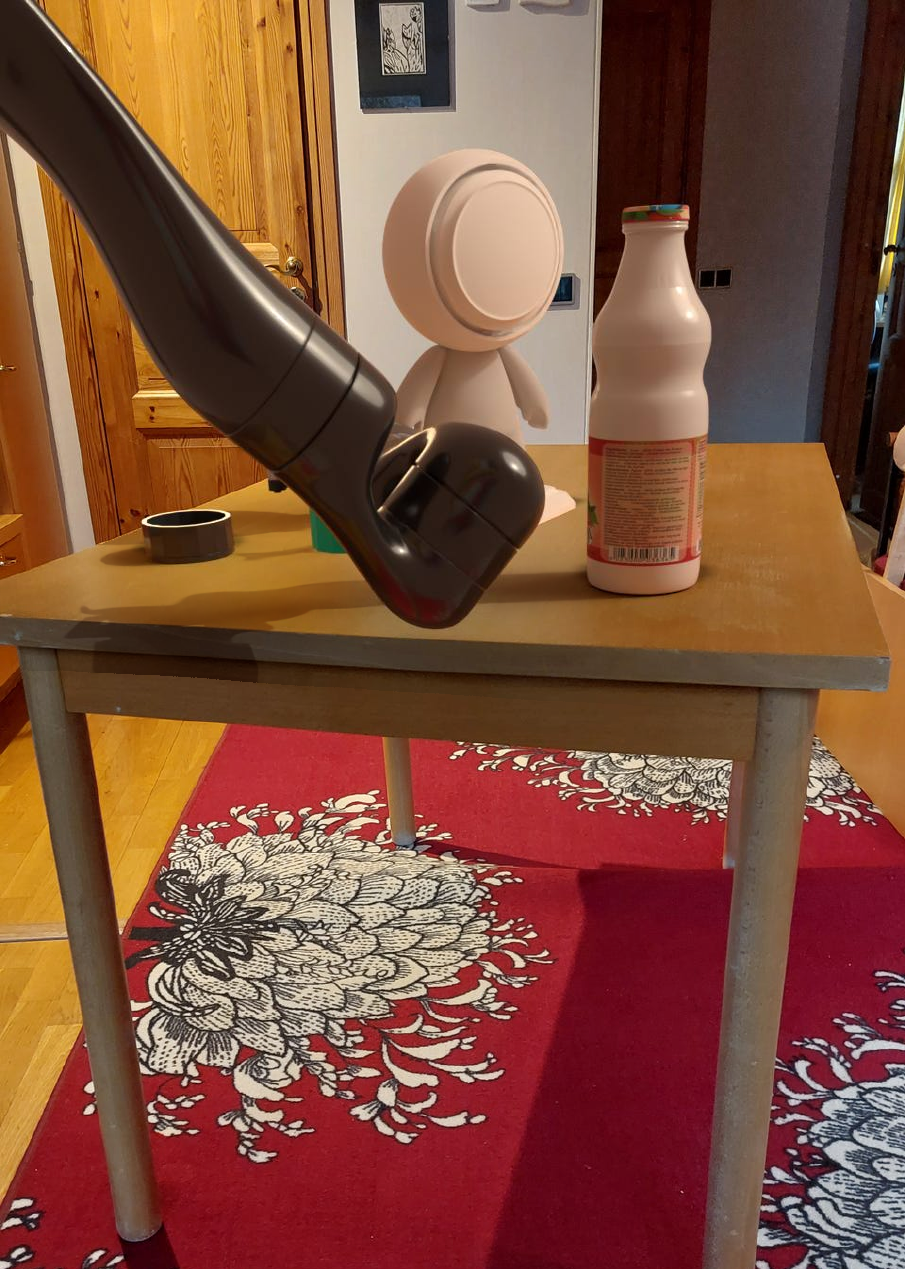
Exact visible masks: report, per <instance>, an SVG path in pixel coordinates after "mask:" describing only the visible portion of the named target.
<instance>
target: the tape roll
mask: <svg viewBox="0 0 905 1269" xmlns="http://www.w3.org/2000/svg"><path fill="white" fill-rule="evenodd" d="M140 525H141V531H142V536H143V543H144V549H145V553H146V558H147V560H148V561H151V562H154V563H159V564H169V565H170V564H171V565H173V564H176V565H177V564H178V565H179V564H195V563H202V562H203V563H204V562H209V561H214V560H217V559H218V560H219V559H222V558H225V557H228V556H230V555H232V554H234V552H235V551H236V546H235V539H234V532H233V531H234V530H233V523H232V516H231V513H230V512H227V511H224V510H219V509H187V510H185V509H184V510H176V511H169V512H162V513H158V514H153V515H150V516H147V517H146V518H143V519H142V520H141V524H140Z"/></svg>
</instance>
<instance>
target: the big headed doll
mask: <svg viewBox="0 0 905 1269" xmlns="http://www.w3.org/2000/svg"><path fill="white" fill-rule="evenodd" d="M560 218H561V217H560V214H559V212H558V210H557V206H556V204H555V202H554V199H553V198H552V196H551V193H550V192H549V190H548V189H547V187H546V186H545V185H544V183H543V181H541V179H540V178H539V177H538V176H537V175H536V174H535V173H534V172H533V171H532V170H531V169H530V168H529V167H527V166H526V165H525V164H524V163H522V162H520V161H519V160H518V159H515V158H514V157H511V156H509V155H508V154H505V153H502V152H499V151H495V150H490V149H485V148H465V149H458V150H453V151H450V152H447V153H444V154H443V155H442V154H441V155H440V156H437V157H436V158H434V159H431V160H430V161H428V162H427V163H426V164H424V165H423V166H421V167H420V168H419V169H418V170H416V171H415V172H414V173H413V174H412V175H411V176H410V177H409V178H408V179H407V181H406V182H405V183H404V185H403V186H402V187H401V188H400V190H399V192H398V193H397V194H396V197H395V198H394V200H393V202H392V204H391V206H390V208H389V212H388V214H387V218H386V220H385V224H384V229H383V233H382V234H383V235H382V244H381V257H382V258H381V259H382V260H381V261H382V268H383V274H384V278H385V282H386V286H387V289H388V292H389V293H390V296H391V298H392V300H393V302H394V305H395V306H396V308H397V309H398V311H399V313H400V314H401V315H402V317H403V318H404V319H405V321H406V322H407V323H408V324H409V325H410V326H411V328H413V329H414V330H415V331H416V332H417V333H419V334H420V335H421V336H423V337H424V338H426V339H427V340H429V341H431V342H433V343H434V344H435V345H432V346H430V347H429V348H428V349H427V350H425V351H424V352H423V353H422V354H421V355H420V356H419V357H418V358H417V360H415V362H414V363H413V365H412V366H411V368H409V370H408V372H407V373H406V375H405V376H404V378H403V379H402V381H401V383H400V385H399V386H398V388H397V390H396V391H395V392H396V396H397V400H398V408H397V414H396V418H395V421H397V422H399V423H402V424H404V425H406V426H408V427H411V428H413V429H415V430H417V431H419V432H420V431H422V430H425V429H427V428H429V427H431V426H433V425H436V424H440V423H444V422H450V421H462V422H471V423H476V424H480V425H483V426H486V427H489V428H491V429H494V430H496V431H498V432H500V433H502V434H504V435H506V436H507V437H509V438H510V439H512V440H513V441H514V442H516V443H517V444H518V445H519V446H520V447H521V448H523V449H524V450H525V451H526V452H527V449H526V442H525V437H524V433H523V429H522V424H521V421H520V420H521V419H520V417H519V413H518V409H519V410H520V413H521V417H522V419H523V420H524V421H526V422H527V425H528V426H529V427H531V428H533V429H539V430H546V429H548V427H549V425H550V420H551V411H550V405H549V404H550V403H549V401H548V397H547V395H546V392H545V389H544V388H543V385H542V384H541V382H540V381H539V380H540V379H538V377H537V376H536V374H535V372H534V371H533V369H532V368H531V367H530V366H529V364H528V363H527V362H526V360H525V359H524V357H522V355H521V354H520V353H519V352H518V351H517V350H515V348H514V347H512V346H511V345H510V344H512V343H514V342H515V341H517V340H519V339H520V338H522V337H523V336H525V335H526V334H527V333H529V332H530V331H531V330H532V329H533V327H535V326H536V325H537V324H538V323H539V322H540V320H541V319H542V318H543V317H544V315H545V314H546V313H547V311H548V309H549V308H550V305H551V304H552V302H553V301H554V298H555V295H556V294H557V290H558V288H559V284H560V280H561V277H562V273H563V267H564V257H565V256H564V253H565V244H564V243H565V242H564V233H563V227H562V221H561V219H560ZM517 408H518V409H517ZM544 488H545V506H544V511H543V515H542V517H541V520H540V522H539V524H538V526H539V525H542V524H545V523H546V522H549V521H551V520H553V519H556V518H557V517H560V516H562V515H564V514H566V513H569V512H570V511H572V510H575V509H576V508H577V507H576V506H577V505H576V501H575V500H574V499H573V497H572V496H571V495H569V493H568V492H567V491H565V490H561V489H557V488H556V487H555V486H552V485H548V484H544Z"/></svg>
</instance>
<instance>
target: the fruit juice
mask: <svg viewBox="0 0 905 1269" xmlns="http://www.w3.org/2000/svg"><path fill="white" fill-rule="evenodd" d="M621 214H622V215H621V227H622V229H621V232H622V234H624V235H625V242H624V249H623V253H622V257H621V260H620V263H619V267H618V270H617V274H616V277H615V280H614V283H613V285H612V288H611V291H610V293H609V296H608V298H607V299H606V301H605V302H604V304H603V307H602V308H601V310H600V311H599V313H598V314H597V316H596V318H595V321H594V323H593V326H592V333H591V352H592V356H593V357H592V358H593V361H594V366H595V370H596V384H595V386H594V390H593V391H592V394H591V398H590V402H589V409H588V410H589V414H588V427H587V439H588V445H587V446H588V447H587V501H586V502H587V504H586V505H587V506H586V507H587V509H586V512H587V514H586V576H587V580H588V582H589V584H590V585H591V586H593V587H594V588H597V589H599V590H602V591H605V592H610V593H616V594H624V595H625V594H626V595H659V594H660V595H661V594H667V593H674V592H680V591H684V590H686V589H688V588H691V587H692V586H694V585H695V584H696V582H697V581H698V578H699V574H700V567H701V566H700V565H701V553H702V538H703V537H702V536H703V535H702V534H703V518H704V503H705V501H704V500H705V485H706V484H705V483H706V467H707V466H706V465H707V450H708V435H709V417H710V416H709V413H710V412H709V397H708V392H707V388H706V386H705V382H704V369H705V366H706V364H707V363H706V362H707V360H708V356H709V353H710V349H711V344H712V323H711V319H710V316H709V313H708V310H706V308H705V306H704V304H703V302H702V300H701V298H700V296H699V295H698V293H697V290H696V289H695V284H694V283H693V282H694V281H693V279H692V275H691V270H690V267H689V262H688V257H687V252H686V246H685V234H686V231H688V230H689V221H690V207H689V205H687V204H655V205H641V206H640V205H639V206H631V207H630V206H629V207H624V208H623V210H622V213H621Z"/></svg>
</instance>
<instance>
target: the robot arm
mask: <svg viewBox="0 0 905 1269" xmlns="http://www.w3.org/2000/svg"><path fill="white" fill-rule="evenodd" d="M0 130H1V131H2V132H4V134H6V135H7V136H8V137H9V138H10V139H11V140H13V141H14V142H15V143H16V144H17V145H18V146H19V147H20V148H21V149H22V150H24V151H25V153H26V154H27V155H28V156H29V157H30V158H31V159H32V160H33V161H34V162H35V163H36V164H37V165H38V166H39V168H41V170H42V171H43V172H44V173H45V174H46V176H47V177H48V178H49V180H51V181H52V183H53V184H54V185H55V187H56V188H57V189H58V191H59V193H60V194H61V195H62V196H63V198H64V199H65V200H66V202H67V203H68V205H69V206H70V208H71V210H72V212H73V214H75V216H76V218H77V220H78V221H79V223H80V224H81V227H82V228H83V230H84V231H85V233H86V234H87V236H88V238H89V240H90V242H91V243H92V245H93V247H94V248H95V250H96V252H97V255H98V256H99V258H100V260H101V262H102V264H103V267H104V269H105V270H106V271H107V274H108V276H109V278H110V280H111V282H112V284H113V286H114V288H115V291H116V293H117V295H118V297H119V299H120V301H121V304H122V305H123V307H124V310H125V312H126V314H127V316H128V318H129V319H130V321H131V323H132V325H133V327H134V330H135V331H136V334H137V335H138V337H139V339H140V341H141V343H142V345H143V347H144V348H145V351H146V352H147V353H148V355H149V357H150V358H151V361H153V363H154V365H155V366H156V368H157V369H158V371H159V372H160V373H161V375H162V376H163V378H164V379H165V381H166V382H167V383H168V384H169V385H170V387H171V388H172V389H173V391H174V392H175V393H176V394H177V395H178V396H179V397H180V398H181V399H182V400H183V401H184V402H185V404H186V405H187V406H188V407H189V408H190V409H191V410H193V412H194V413H196V414H197V415H198V416H199V417H201V418H202V419H203V420H204V422H206V423H207V424H209V425H210V426H211V427H212V428H213V429H215V430H216V431H217V432H218V433H220V434H221V435H223V437H225V438H226V439H227V440H229V441H230V442H231V443H233V444H234V445H235V446H237V448H239V449H240V450H241V451H243V452H244V453H245V454H246V455H247V456H249V457H250V458H252V460H254V461H255V462H257V463H258V465H261V467H263V468H265V470H266V475H267V486H268V491H269V492H272V493H274V494H279V493H282V492H285V491H286V490H288V489H289V490H290V491H291V492H293V494H295V495H296V496H297V497H298V498H299V499H300V500H301V501H302V502H303V503H304V504H305V505H306V506H307V507H308V509H309V508H310V509H311V510H312V511H313V512H314V513H315V514H316V515H317V516H318V517H319V519H320V520H321V521H322V522H323V523H324V524H325V525H326V527H327V528H328V529H329V530H330V532H331V533H332V534H333V535H334V537H335V538H336V539H337V541H338V542H339V543H340V544H341V546H342V547H343V548H344V550H345V551H346V553H347V554H346V555H347V556H348V558H349V559H350V560H351V562H352V563H353V565H354V566H355V568H356V569H357V570H358V572H359V574H360V575H361V576H362V578H363V579H364V580H365V582H366V583H367V585H368V586H369V588H370V589H371V590H372V592H373V593H374V594H375V595H376V597H377V598H378V599H379V600H380V602H381V603H382V604H383V605H384V606H385V607H386V608H387V609H388V610H389V611H390V612H391V613H392V614H394V616H396V617H397V618H399V619H400V620H401V621H404V622H405V623H407V624H409V625H412V626H414V627H417V628H420V629H425V630H444V629H449V628H452V627H455V626H457V625H458V624H459V623H461V622H462V621H463V620H464V619H465V618H466V617H467V616H469V614H470V613H471V612H472V610H474V608H475V607H476V606H477V604H478V603H479V602H480V601H481V599H482V598H483V597H484V596H485V594H486V592H487V591H489V589H490V588H491V587H492V585H493V584H494V583H495V582H496V580H497V579H498V578H499V576H500V575H501V574H502V573H503V571H504V570H505V569H506V567H507V566H508V565H509V563H510V562H511V561H512V560H513V558H515V556H516V554H517V553H518V550H521V549H522V548H523V547H524V545H525V544H526V542H527V541H528V540H529V538H531V536H532V535H533V534H534V532H535V531H536V529H537V527H538V526H539V525H538V524H539V522H540V520H541V517H542V515H543V511H544V506H545V488H544V485H545V484H544V483H545V482H544V480H543V477H542V475H541V474H542V473H541V471H540V470H539V467H538V466H537V464H536V462H535V461H534V460H533V458H532V457H531V456H530V455H529V454H528V452H527V450H526V451H525V450H524V449H523V448H521V447H520V446H519V445H518V444H517V443H516V442H514V441H513V440H512V439H510V438H509V437H507V436H506V435H504V434H502V433H500V432H498V431H496V430H494V429H491V428H489V427H486V426H483V425H480V424H476V423H471V422H462V421H450V422H444V423H440V424H436V425H433V426H431V427H429V428H427V429H425V430H422V431H420V432H419V431H417V430H415V429H414V427H412V428H411V427H408V426H406V425H404V424H402V423H399V422H397V421H395V418H396V414H397V408H398V400H397V396H396V392H397V391H396V389H395V388H394V386H393V384H392V383H391V381H389V380H388V378H387V377H386V376H385V375H384V374H383V372H381V371H380V370H379V368H377V367H376V366H375V365H374V364H373V363H372V362H371V361H369V359H367V358H366V357H365V356H363V354H362V353H361V352H359V351H358V350H357V349H356V348H355V347H354V346H353V345H352V344H351V343H349V342H348V341H347V340H346V339H345V338H344V337H343V336H342V335H341V334H340V333H339V332H338V331H336V330H335V328H333V327H332V326H331V325H330V324H328V322H327V321H325V320H324V319H323V317H321V316H320V315H319V314H317V313H316V312H315V311H314V310H313V309H312V308H311V307H310V306H309V305H308V304H306V303H305V302H304V301H303V300H302V299H301V298H300V297H299V296H298V295H296V294H295V293H294V292H293V291H292V290H291V289H290V288H288V286H287V285H285V284H284V283H283V282H282V281H281V280H280V279H279V278H278V277H277V276H276V275H275V274H274V273H273V272H272V271H270V269H268V268H267V266H265V265H264V264H263V262H261V261H260V260H259V259H258V258H257V257H256V256H255V255H254V254H253V253H252V252H251V251H250V250H249V249H248V248H247V247H246V246H245V245H244V244H243V243H242V242H241V241H240V240H239V239H238V238H237V237H236V236H235V234H233V232H232V231H231V230H230V229H229V227H227V226H226V225H225V224H224V222H223V221H221V219H220V218H219V217H218V216H217V215H216V213H214V211H213V210H212V209H211V207H210V206H209V205H207V203H206V202H205V201H204V200H203V199H202V198H201V197H200V196H199V194H198V193H197V191H196V190H195V189H194V188H193V187H192V186H191V185H190V183H189V182H188V181H187V180H186V179H185V177H184V176H183V175H182V174H181V173H180V171H179V170H178V169H177V168H176V167H175V166H174V164H173V163H172V162H171V161H170V159H169V158H168V157H167V156H166V154H165V153H164V152H163V150H162V149H161V148H160V146H158V145H157V143H156V142H155V141H154V139H152V137H151V136H150V135H149V133H148V132H147V131H146V130H145V129H144V127H143V126H142V125H141V124H140V123H139V121H137V119H136V117H135V116H134V115H133V114H132V112H130V110H129V109H128V108H127V107H126V106H125V104H124V103H123V102H122V100H121V99H120V98H119V97H118V96H117V95H116V93H115V92H114V91H113V89H111V87H110V86H109V85H108V84H107V82H106V81H105V80H104V79H103V77H102V76H101V75H100V74H99V73H98V71H96V69H95V68H94V67H93V66H92V64H90V62H89V61H88V60H87V59H86V57H84V56H83V54H82V53H81V52H80V51H79V49H78V48H77V47H76V46H75V45H74V44H73V43H72V41H71V40H70V39H69V38H68V36H66V34H65V33H64V32H63V31H62V29H60V27H59V26H58V25H57V24H56V22H55V21H54V20H53V19H52V17H51V16H50V15H49V14H48V13H47V12H46V10H45V9H44V8H43V7H42V6H41V5H40V3H39V2H38V1H37V0H0Z"/></svg>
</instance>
